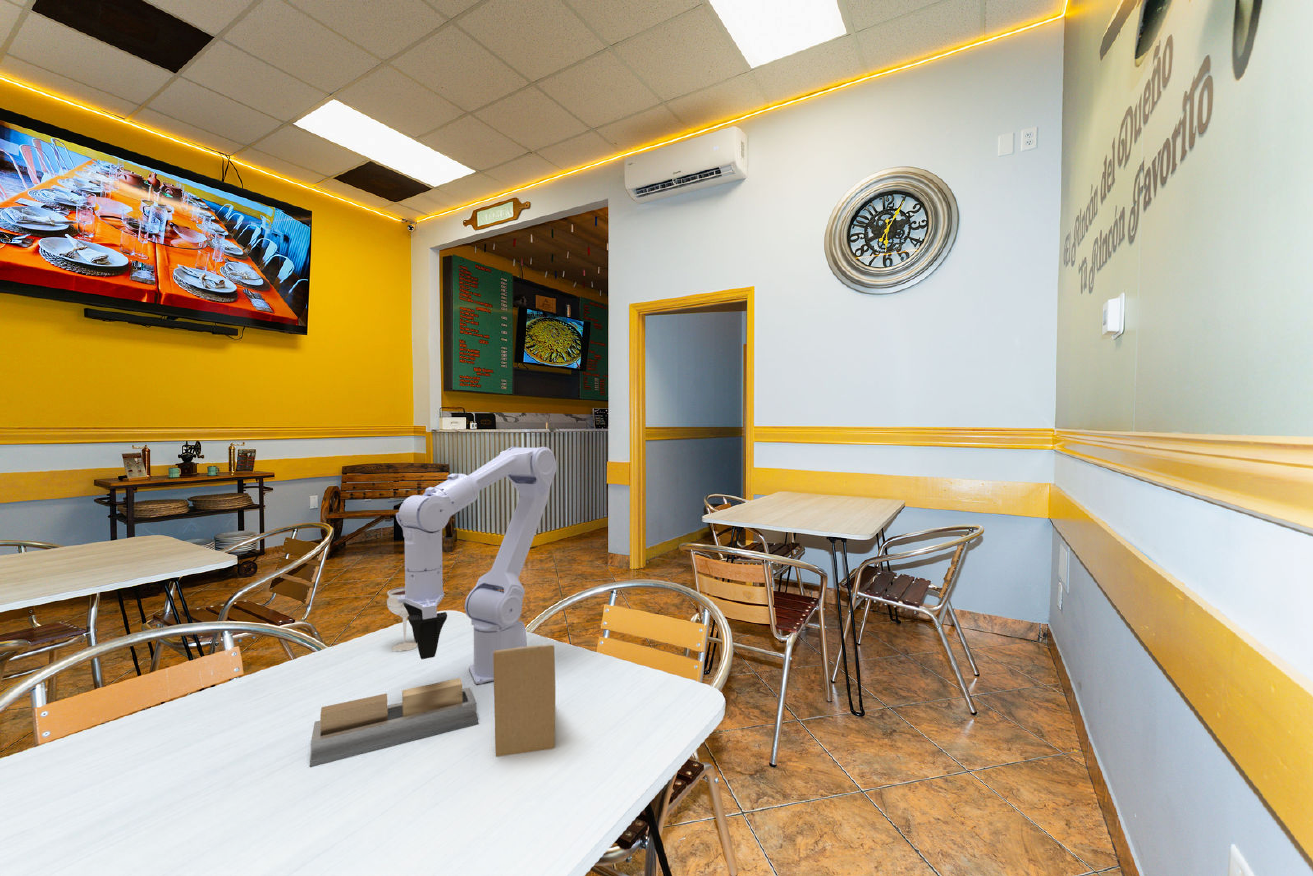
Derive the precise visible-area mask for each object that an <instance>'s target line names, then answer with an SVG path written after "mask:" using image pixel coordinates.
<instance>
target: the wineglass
mask: <svg viewBox="0 0 1313 876" xmlns="http://www.w3.org/2000/svg"><path fill="white" fill-rule="evenodd" d="M386 594H387V596H388V598H386V605H387V608H388V610H389V611H390V613H393V614H394V615H397V616H400V618H402V632H403V643H402V642H401V643H399V644H396V645H394V646H395V647H394V646H392V648H393V649H391V650H392V651H393V650H401V651H400V652H403V651H402V650H407V651H410V650H414V649H415V648H417V647H418V645H417V643H416V642H414V641H413V642H411V641H408V642H407V641H406V640H407V622H408V621H407V620H408V616H409V614H408V612H407V610H406V608H405V607H404V605H403V603H398V601H397V597H398V596H403V595H405V586H401V587H395V588H392V589H389V590H388V591H387V592H386ZM416 646H417V647H416Z"/></svg>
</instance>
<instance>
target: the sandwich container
mask: <svg viewBox="0 0 1313 876" xmlns="http://www.w3.org/2000/svg"><path fill="white" fill-rule="evenodd" d="M555 656H556V654H555V645H554V644H544V645H543V644H542V645H530V646H529V645H528V646H527V647H518V648H511V649H504V650H497V651H494V654H493V667H494V680H493V695H494V697H493V700H494V701H493V702H494V705H493V706H494V740H495V741H494V745H495V750H494V751H495V757H497V758H498V757H502V756H510V755H517V754H518V755H519V754H524V753H531V752H533V753H534V752H538V751H539V752H540V751H546V750H552V749H555V742H556V741H555V739H556V737H555V736H556V735H555V734H556V665H555V664H556V660H555V659H556V657H555Z"/></svg>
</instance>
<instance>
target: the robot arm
mask: <svg viewBox="0 0 1313 876" xmlns="http://www.w3.org/2000/svg"><path fill="white" fill-rule="evenodd" d="M557 469H558V464H557V461H556V458H555V455H554V452H553V451H552V450H551V448H549V447H547V446H540V447H519V446H518V447H517V446H511V447H509V448H507V449H505V450H503V451H500V452H499V455H497V456H495V457H494V458H493V459H491V460H490V461H488V462H487V463H485V464H483V465H482V466H481V467H479V468H478V469H476V470H474V471H473V472H472V473H470V474H468V475H467V474H465V473H453V472H452V473H451V474H448V475H447V477H446V478H447V479H446V480H445V481H443V482H441V483H439V484H437V485H436V486H434V487H432V486H429V487H427V488H425V491H424V492H423V494H422V495H421V494H419V495H418V494H417V495H416V494H414V495H410V496H409V497H407V498H405V499H404V500H403V502H402V503H401V505H400V507H399V509H398V512H397V513H395V518H396V521H397V523H398V525H399V526H400V527H401V529H402V536H403V538H404V584H405V585H404V587H405V595H403V596H398V597H397V601H398V603H403V605H404V607H405V608H406V610H407V612H408V614H409V616H408V617H407V620H408V622H409V624H410V625H411V630H412V634H413V638H414V643H417V645H418V646H417V650H418V653H419V658H420V659H421V660H426V659H432V658H434V657H436V654H437V649H438V645H439V638H440V635H441V633H442V632H441V631H442V630H443V627H444V624H445V622H446V620H447V618H448V614H447V612H446V611H444V612H438V606H439V604H440V603H441V602H442V600H443V599H444V597H445V593H444V592H445V591H444V589H443V585H444V584H443V583H444V581H443V529H445V527H446V526H447V524H448V523H449V520H450V518H451V517H452V516H453V515H455V514H457V513H458V512H460V511H461V510H463V509H464V508H466V507H467V506H470V504H472V503H474V502H475V501H476V500H477V499H478V496H479V491H482V490H483V489H486V488H487V487H488V486H491V485H493V484H494V483H496V482H498V481H500V480H502V479H504V478H506V477H507V478H508V479H509V481H510V483H512V485H513V486H514V488H515V490H516V491H518V493H519V499H518V502H517V504H516V507H515V509H514V512H513V515H512V516H511V519H510V522H509V524H508V527H507V529H506V532H505V534H504V537H503V540H502V542H501V545H500V547H499V550H498V552H497V554H496V557H495V560H494V563H493V564H492V567H491V569H490V570H488V571H487V572H486V573H485V574H483V575H482V576H480V577H479V578H478V580H477V582H476V585H474V587H473V588H472V589H471V590H470V592H469V593H468V595H467V596H466V598H465V602H464V612H465V614H466V616H467V617H468V618H469V619H471V623H470V624H471V626H473V664H471V665H468V670H469V672H470V675H471V677H472V679H473V681H474V682H475V684H477V685H480V684H484V683H487V682H494V667H493V654H494V651H497V650H504V649H511V648H518V647H527V645H528V644H527V643H528V642H527V641H528V640H527V629H526V626H525V623H524V621H522V620H519V619H520V617H521V614H522V610H523V600H524V595H525V593H526V591H525V588H524V586H523V585H522V582H521V581H520V579H519V578H520V576H521V573H522V570H523V568H524V564H525V561H526V560H527V557H528V555H529V551H530V549H531V546H532V543H533V540H534V537H535V536H536V532H537V530H538V527H539V524H540V522H541V520H542V517H543V514H544V511H545V508H546V506H547V503H548V501H549V498H550V493H551V485H552V483H553V480H554V478H555V475H556V472H557Z"/></svg>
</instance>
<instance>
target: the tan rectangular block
mask: <svg viewBox="0 0 1313 876" xmlns="http://www.w3.org/2000/svg"><path fill="white" fill-rule="evenodd" d="M462 689H463V683H462V680H461V677H458V678H454V679H449V680H448V679H447V680H444V681H440V682H435V683H429V684H426V685H425V684H424V685H421V686H416V687H410V688H407V689H402V690H401V693H402V697H401V698H402V700H401V701H402V713H403V717H405V716H410V715H414V714H418V713H422V712H427V711H431V710H435V709H440V708H444V707H448V706H453V705H457V704H461V703H462Z"/></svg>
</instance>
